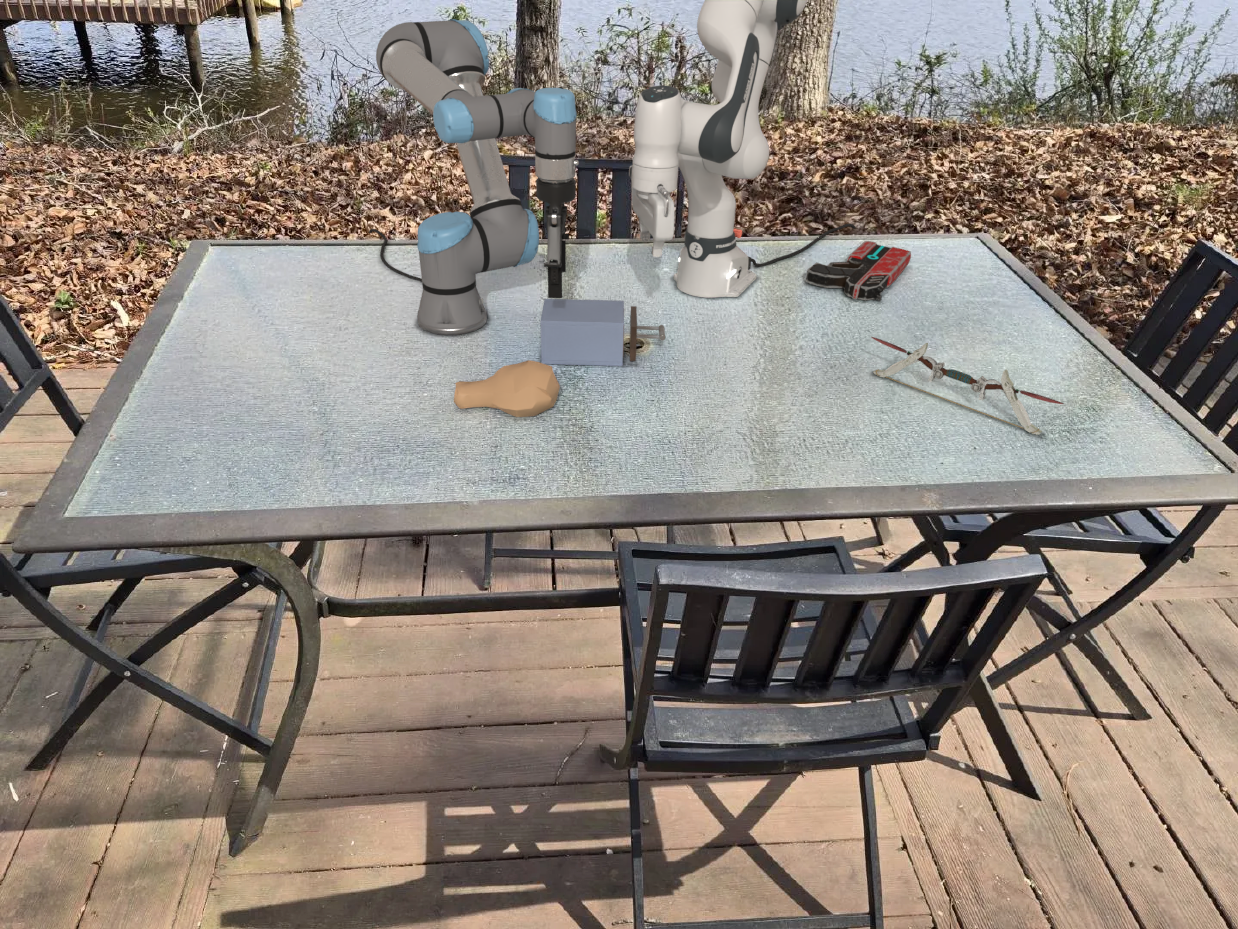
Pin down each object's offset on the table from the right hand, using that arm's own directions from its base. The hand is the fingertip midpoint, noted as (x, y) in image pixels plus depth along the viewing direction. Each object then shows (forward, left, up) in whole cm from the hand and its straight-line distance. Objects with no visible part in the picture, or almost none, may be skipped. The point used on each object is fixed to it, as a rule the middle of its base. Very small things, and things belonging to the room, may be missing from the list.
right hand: (650, 247), depth 176 cm
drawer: (+7, -4, -21) cm, 23 cm away
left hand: (+14, -13, -7) cm, 20 cm away
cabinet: (+11, -9, -22) cm, 26 cm away
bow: (-19, +60, -22) cm, 67 cm away
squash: (+38, -4, -22) cm, 44 cm away
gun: (-69, +18, -22) cm, 74 cm away
